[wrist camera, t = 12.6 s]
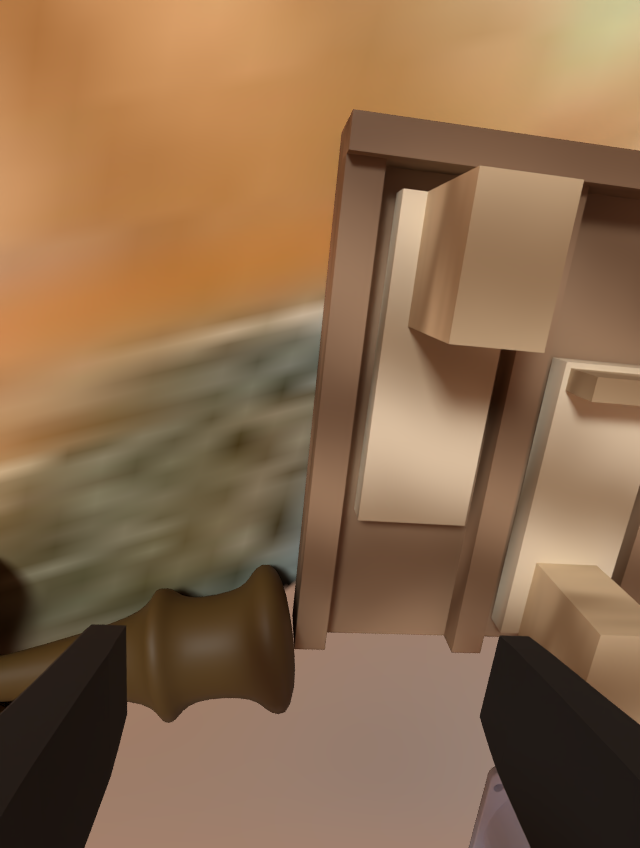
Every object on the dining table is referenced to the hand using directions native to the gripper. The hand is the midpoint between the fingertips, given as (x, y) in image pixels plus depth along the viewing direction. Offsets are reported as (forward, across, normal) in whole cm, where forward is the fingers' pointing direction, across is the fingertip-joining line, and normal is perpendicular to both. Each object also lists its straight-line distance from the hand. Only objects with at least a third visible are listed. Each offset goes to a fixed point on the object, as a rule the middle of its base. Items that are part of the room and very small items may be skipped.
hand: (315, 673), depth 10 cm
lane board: (+10, -8, -2) cm, 13 cm away
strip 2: (+9, -11, +1) cm, 14 cm away
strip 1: (+9, -4, -5) cm, 11 cm away
